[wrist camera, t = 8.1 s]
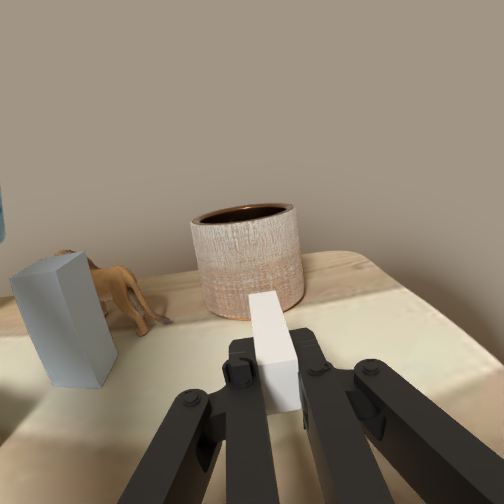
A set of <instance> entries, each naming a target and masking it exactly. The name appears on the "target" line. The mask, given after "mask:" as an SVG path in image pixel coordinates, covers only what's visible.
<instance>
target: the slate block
mask: <svg viewBox="0 0 504 504" xmlns="http://www.w3.org/2000/svg"><path fill="white" fill-rule="evenodd" d="M9 280H10V284H11V287H12V290H13V293H14V296H15V299H16V301H17V304H18V307H19V310H20V312H21V315H22V318H23V320H24V323H25V325H26V328H27V330H28V332H29V335H30V337H31V340H32V342H33V344H34V346H35V349H36V351H37V353H38V355H39V357H40V359H41V362H42V364H43V366H44V368H45V370H46V372H47V374H48V376H49V378H50V380H51V382H52V383H53V385H54V387H68V388H101V387H102V385H103V383H104V381H105V379H106V377H107V375H108V374H109V372H110V370H111V368H112V366H113V364H114V362H115V360H116V358H117V356H118V353H117V350H116V348H115V345H114V342H113V340H112V337H111V334H110V331H109V329H108V326H107V323H106V320H105V317H104V314H103V311H102V308H101V305H100V302H99V299H98V296H97V292H96V289H95V286H94V282H93V279H92V275H91V272H90V268H89V265H88V261H87V257H86V253H85V251H81V252H76V253H70V254H65V255H60V256H55V257H49V258H45V259H40V260H38V261H37V262H35V263H33V264H32V265H30V266H29V267H27V268H25V269H24V270H22V271H21V272H19V273H17V274H16V275H14V276H13V277H11V278H9Z"/></svg>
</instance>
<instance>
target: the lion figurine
mask: <svg viewBox="0 0 504 504" xmlns="http://www.w3.org/2000/svg"><path fill="white" fill-rule="evenodd" d="M70 253H76V252H73V251H71V250H68V251H67V250H61V251H59V252H57V253H56V254H55V255H54V257H55V256H60V255H65V254H70ZM87 261H88V265H89V268H90V272H91V275H92V279H93V282H94V286H95V289H96V292H97V296H98V299H99V302H100V305H101V308H102V311H103V314H104V316H105V315H106V314H107V309H106V306H105V302H104V301H110V300H114V301H115V303H116V304H117V306H118V307H119V308H120V310H121V311H122V312H124V313H125V314H126V315H127V316H129V317H130V318H131V319H132V320H134V321H135V322H136V323H137V324H138V326H139V327H137V328H136V334H137V335H138V336H143V335H145V334H146V333H147V331H148V328H147V325H146V323H145V321H144V319H143V318H144V317H145V315H144V309H145V310H146V311H147V312H148V314H149V315H150V316H151V317H153V318H154V319H156V320H157V321H158V322H160V323H168V322H169V321H170V319H169V318H167V317H163V316H160V315H157V314H155V313H154V312H153V311H152V310H151V309H150V307H149V306H148V304H147V303H146V301H145V299H144V297H143V295H142V293H141V292H140V289H139V287H138V286H137V281H136V279H135V277H134V274H133V273H132V272H131V271H130V270H129V269H128V268H126V267H124V266H114V267H112V268H107V269H103V268H98V267H97V266H95V265H94V264H93V262H92V261H91V260H90V259H89V258H87ZM128 296H129V297H130V299H131V300H132V301H133V303H134V304H135V306H136V309H137V311H136V310H135V309H134V307H133V306H132V304H131V303H130V301H129V299H128ZM141 304H142V305H141ZM143 307H144V308H143Z"/></svg>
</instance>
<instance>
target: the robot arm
mask: <svg viewBox="0 0 504 504" xmlns="http://www.w3.org/2000/svg"><path fill="white" fill-rule="evenodd" d="M4 238H5V224H4V216H3V210H2V198H1V188H0V244H1V243H2V242H3V241H4ZM248 296H249V304H250V313H251V321H252V329H253V337H251V338H244V339H237V340H233V341H232V343H231V344H230V345H229V360H227V361H226V362H225V363H224V364H223V366H222V370H223V374H224V378H225V382H226V385H225V386H224V387H223V388H222V389H221V390H219V391H217V392H214V393H211V394H208V395H207V393H206V392H204V391H203V390H200V389H189V390H186V391H183V392H182V393H180V394H179V395H178V396H177V397H176V398H175V400H174V402H173V404H172V405H171V407H170V409H169V411H168V413H167V414H166V416H165V418H164V420H163V422H162V423H161V425H160V427H159V429H158V431H157V433H156V434H155V436H154V438H153V440H152V442H151V443H150V445H149V447H148V449H147V451H146V452H145V454H144V456H143V458H142V460H141V461H140V463H139V465H138V467H137V469H136V470H135V472H134V474H133V476H132V478H131V479H130V481H129V483H128V485H127V487H126V488H125V490H124V492H123V494H122V496H121V497H120V499H119V501H118V503H117V504H201V503H202V501H203V498H204V495H205V492H206V489H207V487H208V484H209V481H210V478H211V475H212V472H213V469H214V466H215V464H216V461H217V458H218V455H219V452H220V449H221V446H222V441H223V440H226V501H227V504H280V502H279V495H278V488H277V482H276V475H275V469H274V462H273V455H272V448H271V442H270V435H269V428H268V422H267V416H266V415H270V414H277V413H283V412H289V411H294V410H300V409H301V405H302V409H303V422H304V429H306V430H307V434H308V438H309V442H310V445H311V449H312V453H313V457H314V461H315V464H316V468H317V472H318V476H319V480H320V483H321V487H322V491H323V495H324V499H325V503H326V504H394V501H393V499H392V497H391V494H390V492H389V490H388V487H387V485H386V483H385V480H384V478H383V476H382V473H381V471H380V469H379V466H378V464H377V462H376V460H375V457H374V455H373V453H372V451H371V448H370V446H369V444H368V441H367V439H366V437H367V438H368V439H369V440H370V441H371V442H372V443H373V445H374V446H375V447H376V448H377V449H378V450H379V451H380V452H381V454H382V455H383V456H384V457H385V458H386V459H387V460H388V461H389V463H390V464H391V465H392V466H393V467H394V468H395V469H396V470H397V472H398V473H399V474H400V475H401V476H402V477H403V478H404V479H405V480H406V482H407V483H408V484H409V485H410V486H411V487H412V488H413V489H414V490H415V491H416V493H417V494H418V495H419V496H420V497H421V498H422V499H423V500H424V501H425V502H426V503H427V504H504V459H502V458H501V457H500V456H499V455H497V454H496V453H495V452H494V451H492V450H491V449H490V448H489V447H487V446H486V445H485V444H484V443H483V442H481V441H480V440H479V439H478V438H476V437H475V436H474V435H473V434H471V433H470V432H469V431H468V430H467V429H465V428H464V427H463V426H462V425H460V424H459V423H458V422H457V421H455V420H454V419H453V418H452V417H451V416H449V415H448V414H447V413H446V412H444V411H443V410H442V409H441V408H439V407H438V406H437V405H436V404H435V403H433V402H432V401H431V400H430V399H428V398H427V397H426V396H425V395H424V394H422V393H421V392H420V391H419V390H417V389H416V388H415V387H414V386H412V385H411V384H410V383H409V382H408V381H406V380H405V379H404V378H403V377H401V376H400V375H399V374H398V373H397V372H395V371H394V370H393V369H392V368H390V367H389V366H388V365H387V364H385V363H384V362H382V361H381V360H377V359H365V360H362V361H360V362H359V363H357V364H356V366H355V367H354V370H341V369H336V368H334V367H333V365H332V364H331V363H329V362H327V361H326V359H325V357H324V355H323V353H322V350H321V348H320V346H319V344H318V342H317V339H316V337H315V335H314V333H313V332H312V331H311V330H309V329H308V328H301V329H296V330H290V331H288V328H287V325H286V322H285V318H284V315H283V312H282V309H281V306H280V303H279V300H278V297H277V294H276V291H268V292H262V293H255V294H249V295H248ZM364 434H365V435H366V437H365V435H364Z"/></svg>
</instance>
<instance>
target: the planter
mask: <svg viewBox="0 0 504 504" xmlns="http://www.w3.org/2000/svg"><path fill="white" fill-rule="evenodd" d="M190 225H191V231H192V236H193V242H194V247H195V253H196V258H197V264H198V269H199V275H200V281H201V286H202V291H203V296H204V301H205V304H206V306H207V308H208V309H209V310H210V311H211V312H212V313H214V314H216V315H218V316H221V317H224V318H228V319H232V320H251V313H250V304H249V296H248V295H249V294H255V293H262V292H268V291H276V294H277V297H278V300H279V303H280V306H281V309H282V312H284V311H286V310H288V309H289V308H291V307H292V306H294V305H295V304H296V303H297V302H298V301H299V300H300V299H301V298H302V297H303V294H304V276H303V266H302V258H301V249H300V241H299V233H298V224H297V214H296V208H295V206H293V205H291V204H286V203H260V204H250V205H243V206H236V207H230V208H226V209H221V210H217V211H213V212H209V213H206V214H203V215H201V216H198V217H196V218H194V219H193V220H192V221H191V222H190Z"/></svg>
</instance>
